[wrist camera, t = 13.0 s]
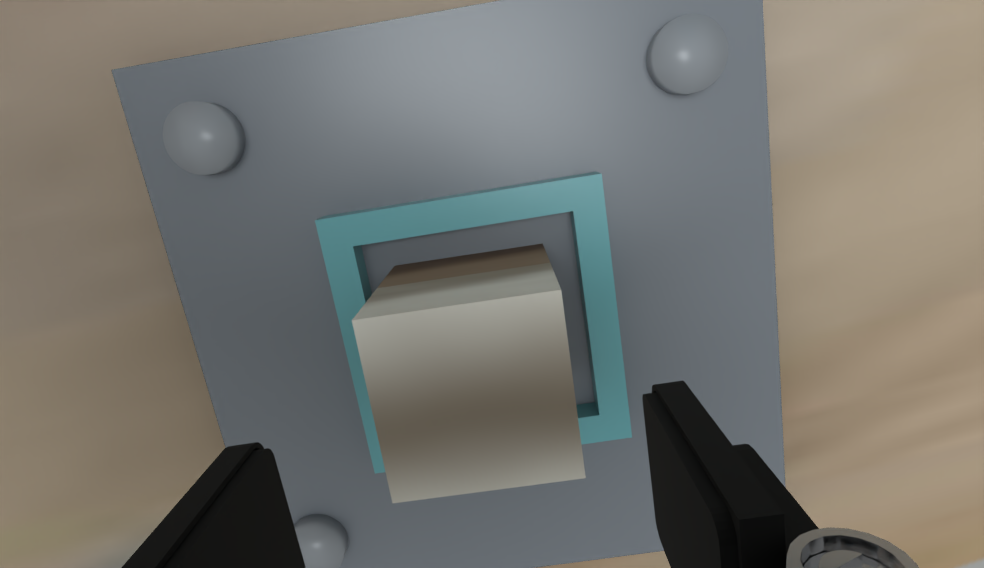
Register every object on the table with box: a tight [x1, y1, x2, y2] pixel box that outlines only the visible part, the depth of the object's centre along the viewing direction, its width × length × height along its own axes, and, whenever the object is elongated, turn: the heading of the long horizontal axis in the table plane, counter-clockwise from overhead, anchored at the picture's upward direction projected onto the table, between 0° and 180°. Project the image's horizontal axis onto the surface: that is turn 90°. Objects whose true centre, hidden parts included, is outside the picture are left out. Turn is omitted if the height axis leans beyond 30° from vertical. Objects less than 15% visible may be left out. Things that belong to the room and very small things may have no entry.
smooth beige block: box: [352, 243, 586, 503], centre depth 17 cm, size 5×5×6 cm
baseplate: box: [112, 0, 785, 568], centre depth 20 cm, size 20×20×2 cm
